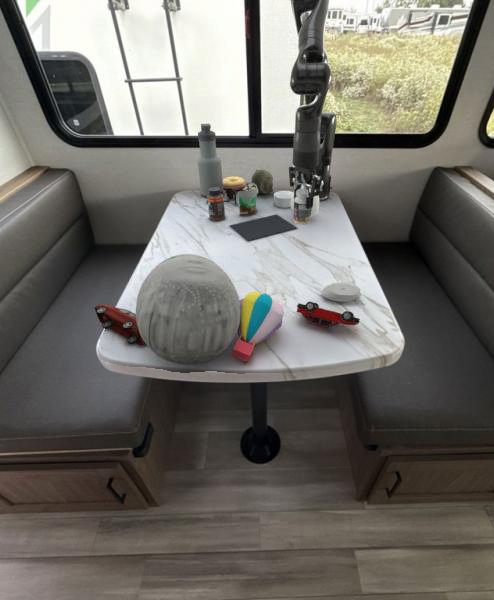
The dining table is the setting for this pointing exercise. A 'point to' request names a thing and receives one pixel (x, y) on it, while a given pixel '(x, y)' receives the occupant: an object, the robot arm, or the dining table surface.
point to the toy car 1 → (120, 322)
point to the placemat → (262, 227)
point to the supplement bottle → (216, 204)
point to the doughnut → (233, 183)
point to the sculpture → (187, 309)
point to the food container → (248, 199)
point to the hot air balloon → (256, 322)
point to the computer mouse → (341, 292)
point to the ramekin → (283, 199)
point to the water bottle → (209, 161)
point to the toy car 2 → (325, 315)
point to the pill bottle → (301, 208)
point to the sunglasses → (229, 195)
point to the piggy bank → (315, 202)
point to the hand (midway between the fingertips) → (302, 204)
